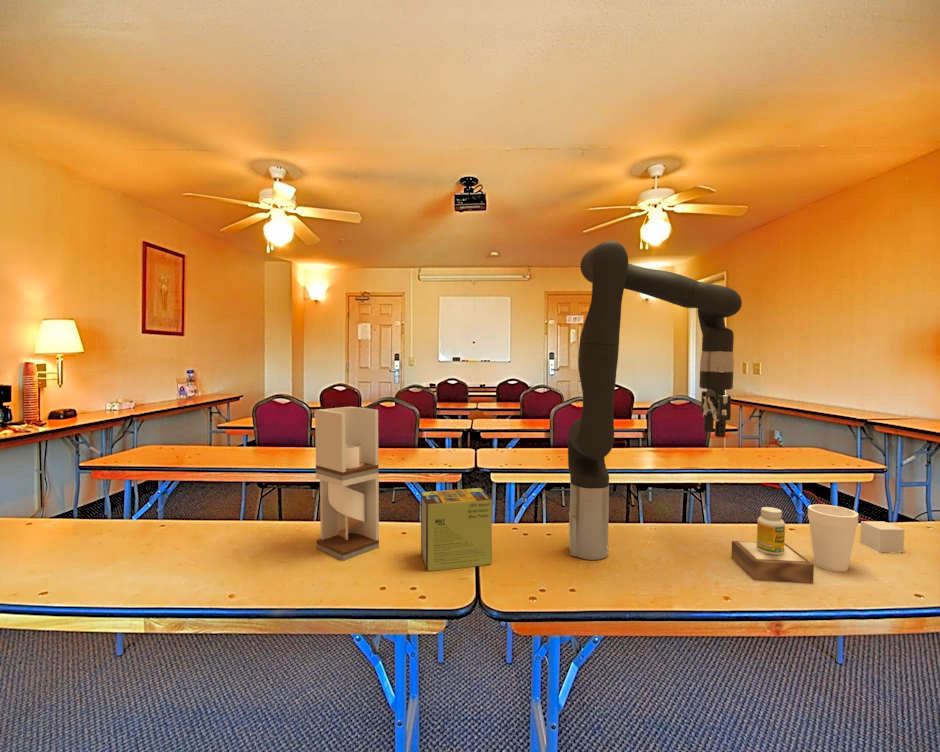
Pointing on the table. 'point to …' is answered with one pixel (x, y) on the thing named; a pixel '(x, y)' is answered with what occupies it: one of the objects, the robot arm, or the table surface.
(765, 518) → the supplement bottle
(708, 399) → the robot arm
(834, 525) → the foam cup
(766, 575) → the base slab
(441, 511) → the protein box
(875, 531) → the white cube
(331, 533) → the beige cubby shelf tower
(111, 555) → the table surface
